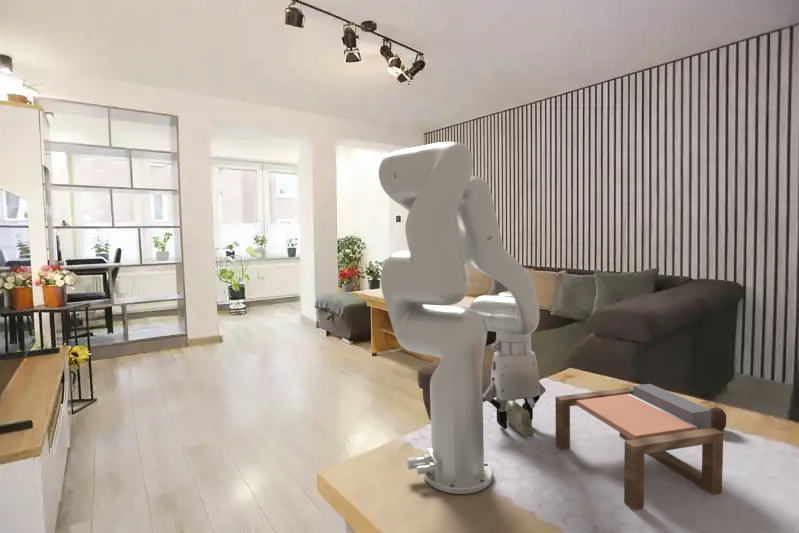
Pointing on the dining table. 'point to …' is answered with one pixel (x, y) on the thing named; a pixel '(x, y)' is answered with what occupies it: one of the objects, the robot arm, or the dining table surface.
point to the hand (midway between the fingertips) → (514, 423)
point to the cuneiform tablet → (519, 418)
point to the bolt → (718, 419)
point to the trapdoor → (648, 412)
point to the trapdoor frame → (652, 451)
